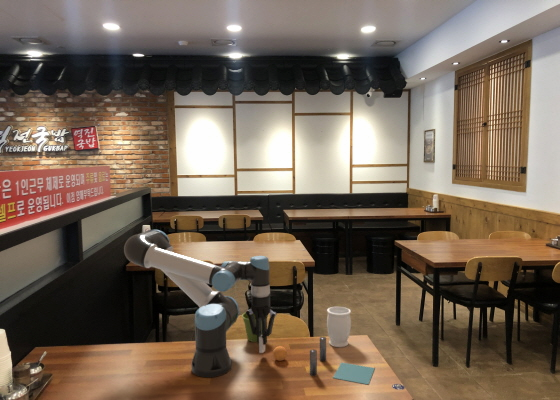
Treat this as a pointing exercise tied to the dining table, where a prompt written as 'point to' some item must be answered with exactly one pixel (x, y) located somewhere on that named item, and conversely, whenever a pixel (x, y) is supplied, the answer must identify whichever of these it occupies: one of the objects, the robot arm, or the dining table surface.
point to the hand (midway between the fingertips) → (262, 351)
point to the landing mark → (354, 373)
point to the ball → (279, 353)
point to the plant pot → (250, 336)
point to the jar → (338, 326)
